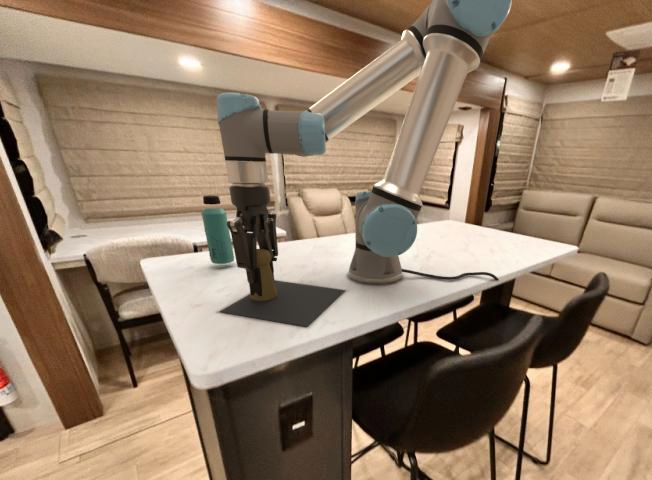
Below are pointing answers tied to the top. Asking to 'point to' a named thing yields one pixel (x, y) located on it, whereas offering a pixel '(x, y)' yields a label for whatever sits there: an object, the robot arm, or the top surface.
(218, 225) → the beverage bottle
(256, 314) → the felt mat
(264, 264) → the cork
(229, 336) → the top surface
